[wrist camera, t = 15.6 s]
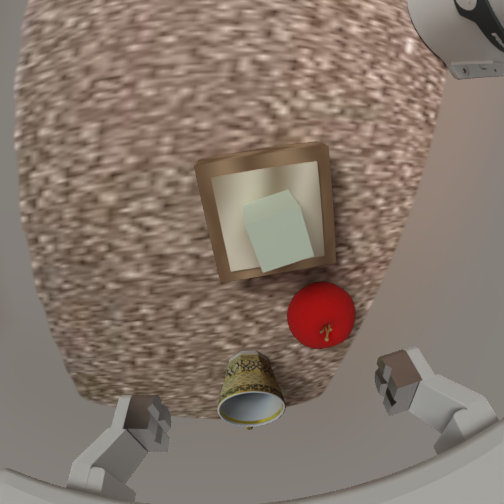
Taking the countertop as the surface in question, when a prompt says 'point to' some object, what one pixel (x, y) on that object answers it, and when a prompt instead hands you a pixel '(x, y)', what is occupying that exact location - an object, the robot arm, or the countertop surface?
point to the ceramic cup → (250, 392)
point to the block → (277, 230)
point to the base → (259, 186)
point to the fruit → (321, 315)
